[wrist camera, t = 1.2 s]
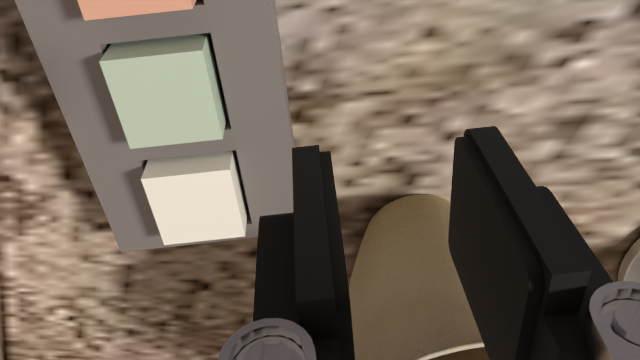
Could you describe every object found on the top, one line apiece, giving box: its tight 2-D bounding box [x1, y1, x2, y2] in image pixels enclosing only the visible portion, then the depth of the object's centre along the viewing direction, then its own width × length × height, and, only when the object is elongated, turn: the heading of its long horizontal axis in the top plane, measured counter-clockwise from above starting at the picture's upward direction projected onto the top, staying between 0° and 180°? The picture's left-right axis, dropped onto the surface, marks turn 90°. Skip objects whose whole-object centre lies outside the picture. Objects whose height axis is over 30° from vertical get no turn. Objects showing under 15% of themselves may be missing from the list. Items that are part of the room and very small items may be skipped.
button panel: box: [15, 0, 295, 252], centre depth 30 cm, size 22×12×4 cm, turn 5°
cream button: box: [141, 151, 247, 245], centre depth 32 cm, size 5×5×2 cm
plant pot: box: [349, 194, 489, 360], centre depth 33 cm, size 15×15×16 cm
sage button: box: [99, 33, 227, 149], centre depth 28 cm, size 5×5×2 cm
